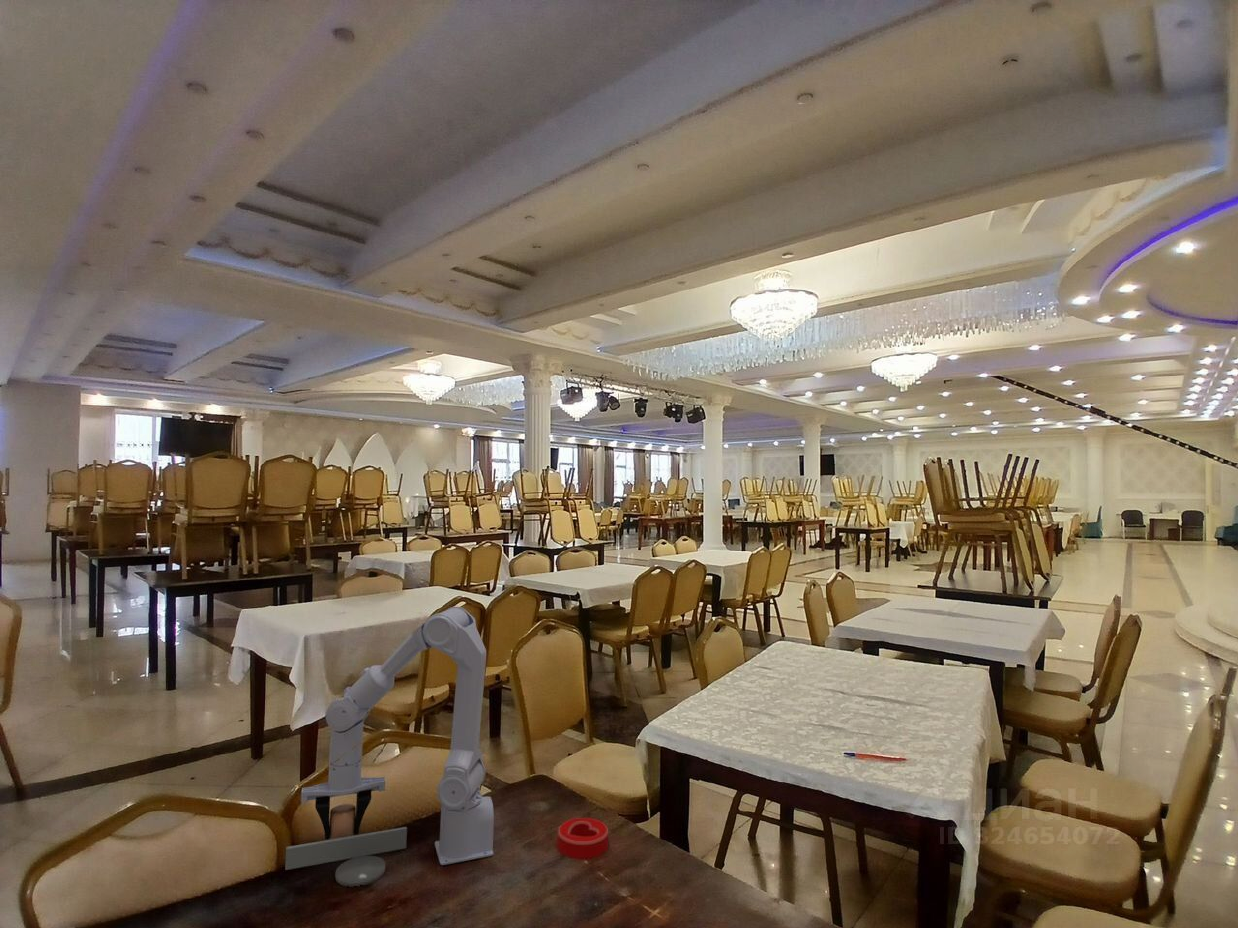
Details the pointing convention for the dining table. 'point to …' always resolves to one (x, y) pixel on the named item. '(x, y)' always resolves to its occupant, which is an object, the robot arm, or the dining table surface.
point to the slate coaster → (360, 871)
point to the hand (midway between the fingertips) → (341, 834)
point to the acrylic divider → (345, 848)
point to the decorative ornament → (582, 838)
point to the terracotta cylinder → (342, 821)
